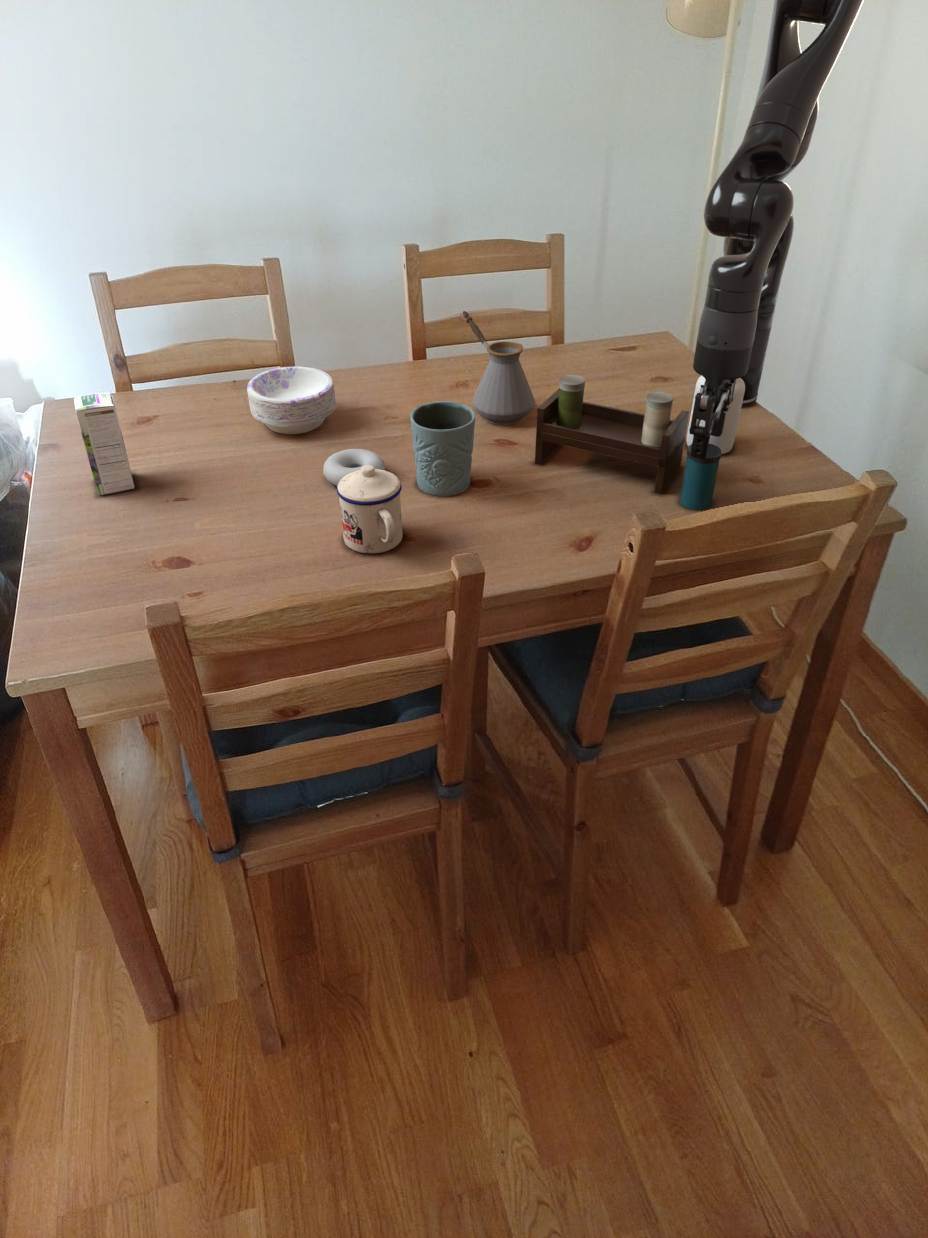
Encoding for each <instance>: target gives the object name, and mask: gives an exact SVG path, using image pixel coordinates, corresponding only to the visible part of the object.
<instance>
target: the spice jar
mask: <svg viewBox="0 0 928 1238" xmlns="http://www.w3.org/2000/svg"><path fill="white" fill-rule="evenodd" d="M691 448H692V444H691V445H690V446H687V449H686V461H685V466H684V472H683V479H682V485H681V491H680V497H679V504H680V505H681V506H682V507H684V508H686V509H688V510H692V511H705V510H707V509H710V507H711V506H712V504H713V503H712V502H713V497H714V490H715V487H716V481H717V476H718V471H719V465H720V461H721V458H722V455H723V454H722V451H721V449H720V448H719V447H717V446H716V445H713V444H709V446H708V451H707V456H706V457H705V459H697V458H693V457H691Z"/></svg>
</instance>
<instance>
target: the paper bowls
mask: <svg viewBox="0 0 928 1238" xmlns="http://www.w3.org/2000/svg"><path fill="white" fill-rule="evenodd" d="M334 385H335V381H334V379H333V377H332V376H331V375H330V374H328V373H327V372H326V371H323V370H321V369H319V368H315V367H310V366H282V367H276V368H271V369H269V370H266V371H262V372H261V373H258V374H257V375H255V376H253V377H252V378H251V379H250V380H249V382H248V384H247V386H246V391H247V392H246V393H247V397H248V404H249V409H250V414H251V416H252V417H253V418H254V419H255V420H256V421H258V422H260V423H263V424H265V425H266V426H267V428H269V430H271V431H273V432H275V433H278V434H285V435H300V434H304V433H308V432H309V433H310V432H311V431H314V430H316V429H318V427H320V426H321V425H322V424H323V422H324V421H325V419H326V418H327V417H328V416H330V414H332V413H333V412H334V411H335V409H336V405H337V403H336V393H335V391H336V390H335V386H334Z"/></svg>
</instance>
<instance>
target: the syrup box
mask: <svg viewBox="0 0 928 1238" xmlns="http://www.w3.org/2000/svg"><path fill="white" fill-rule="evenodd" d="M73 402H74V403H73V404H74V410H75V416H76V419H77V423H78V426H79V430H80V434H81V438H82V442H83V445H84V449H85V452H86V456H87V459H88V464H89V466H90V471H91V474H92V477H93V482H94V484H95V488H96V492H97V495H98V496H104V495H109V494H114V493H120V492H124V491H129V490H134V489H135V488H136V487H135V482H134V478H133V473H132V469H131V466H130V461H129V458H128V453H127V449H126V445H125V440H124V437H123V432H122V429H121V425H120V421H119V416H118V412H117V409H116V404H115V400H114V397H113V394H112V392H95V393H88V394H83V395H78V396H75V397H73Z"/></svg>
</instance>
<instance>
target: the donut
mask: <svg viewBox="0 0 928 1238" xmlns="http://www.w3.org/2000/svg"><path fill="white" fill-rule="evenodd" d="M365 465H371V466H373V467H374V468H375V469H380V470H385V471H386V467H385V462H384V460H383V458H382V457H381V456H380V455H379V454H378V453H376V452H374V451H372V450H369V449H364V448H348V449H344V450H343V449H342V450H340V451H337V452H335V453H333V454H331V455H329V457H328V458H326V460H325V462H324V463H323V467H322V469H323V476H324V478H325V479H326V480H327V481H328V483H330V484H331V485H333V486H335V487H337V486H338V483H339V481H340V480H341V479H342V478H343V477H344V476H346V475H347V474H349V473H351V472H354V471H358V470H361V468H362V467H363V466H365Z"/></svg>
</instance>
